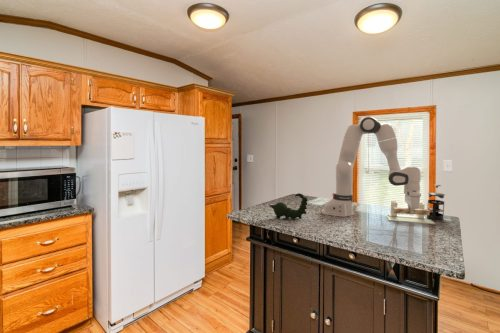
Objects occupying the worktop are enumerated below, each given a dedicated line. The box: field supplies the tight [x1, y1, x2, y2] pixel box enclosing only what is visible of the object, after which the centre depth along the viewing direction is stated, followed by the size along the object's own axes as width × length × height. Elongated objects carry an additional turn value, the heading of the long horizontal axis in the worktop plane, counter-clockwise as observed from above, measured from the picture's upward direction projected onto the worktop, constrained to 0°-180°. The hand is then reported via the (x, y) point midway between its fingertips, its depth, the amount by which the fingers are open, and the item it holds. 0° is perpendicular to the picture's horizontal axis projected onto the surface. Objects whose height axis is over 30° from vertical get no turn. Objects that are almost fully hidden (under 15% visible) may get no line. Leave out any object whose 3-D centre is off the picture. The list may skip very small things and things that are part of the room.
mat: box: [386, 216, 436, 225], centre depth 174 cm, size 26×8×1 cm, turn 72°
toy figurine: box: [269, 192, 308, 220], centre depth 180 cm, size 9×19×25 cm
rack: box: [388, 200, 427, 219], centre depth 182 cm, size 22×5×10 cm, turn 72°
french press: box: [426, 184, 446, 222], centre depth 177 cm, size 12×9×23 cm
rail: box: [393, 207, 431, 216], centre depth 173 cm, size 20×3×3 cm, turn 72°
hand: (410, 212), depth 173 cm, fingers closed on rail, 3 cm apart
